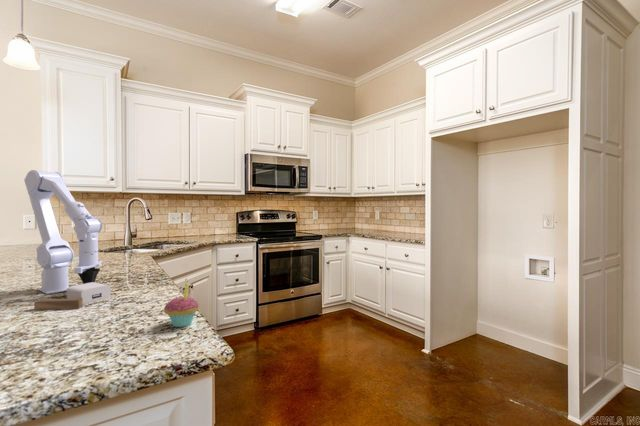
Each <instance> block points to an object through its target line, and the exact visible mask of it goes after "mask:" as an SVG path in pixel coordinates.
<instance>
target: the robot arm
mask: <svg viewBox="0 0 640 426" xmlns="http://www.w3.org/2000/svg"><path fill="white" fill-rule="evenodd" d="M24 184H25V186H26V190H27V194H28V197H29V201H30V204H31V207H32V211H33V214H34V218H35V222H36V225H37V227H38V231H39V235H40V237H41V241H42V242H41V244H39V245H38V246H37V248H36V253H37V254H36V261H37V263H38V265H39V266H40V268H43V269H42V270H41V287H40V288H38V289H37V290H38V291H40V292H41V293H44V294H47V295H48V294H54V293H60V292H64V291H65V292H66V291H67V288H69V287H70V286H69V283H70V282H69V281H70V280H69V276H70V275H69V265H71V263H72V262H73V261H74V259H75V253H74V252H75V251H74V250H73V248H72V247H71V246H70V243H69V242H68V241H66V240H64V239H63V238H62V237H61V234H60V230H59V227H58V224H57V221H56V217H55V214H54V211H53V208H52V207H53V206H52V204H51V201H50V199H51V197H53V196H55V197H56V198H57V199H58V200H59V201H60V202H61V203H62V204H63V205H64V206H65V207H64V212H65V213H66V214H67V216H68V217H69V218H70V220H71V221H72V222H73V224H74V226H73V230H74V233H76V239H77V240H78V265H77V266H76V267H74V274H76V275H78V276H79V278H80V279H81V281H82V284H85V283H91V282H95V283H96V279H97V277H98V274H99V272H100V271H101V269H100V268H97V267H101V266H102V265H103V264H102V260H99V233H100V232H101V231H102V228H103V224H102V222H101V219H99V218H98V217H95V216H93V215H91V213H90V212H89V211H88V209H86V207H85V204H84V203H82V202H81V201H76V200H75V198H74V196H73V195H72V194H71V191H70V190H69V189H68V187H67V185H66V178H64V176H63V175H62V173H60V172H58V171H57V172H56V171H55V172H52V171H44V170H43V171H42V170H36V169H31V170H29V171H28V172H27V173H26V176H25V178H24Z"/></svg>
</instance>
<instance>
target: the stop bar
mask: <svg viewBox="0 0 640 426" xmlns="http://www.w3.org/2000/svg"><path fill="white" fill-rule="evenodd" d="M33 303H34V311H47V310H70V309H71V310H72V309H80V308H82V307H83V305H84V304H83V298H73V299H67V298H52V299H51V298H50V299H49V298H48V299H39V300H35V301H34V302H33Z"/></svg>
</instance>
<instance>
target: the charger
mask: <svg viewBox="0 0 640 426" xmlns="http://www.w3.org/2000/svg"><path fill="white" fill-rule="evenodd" d="M65 292H66V299H73V298H83V305H86V304H90V303H94V302H99V301H102V300H107V299H110V298H111V297H112V286H111V285H109V284H103V283H99V282H96V281H95V282H91V283H85V284H83V283H82V284H80V283H79V284H77V285H72V286H69V288H67V290H66V291H65Z"/></svg>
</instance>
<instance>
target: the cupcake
mask: <svg viewBox="0 0 640 426" xmlns="http://www.w3.org/2000/svg"><path fill="white" fill-rule="evenodd" d="M184 287H185V288H184V293H183V294H184V295H183V297H176V298H173V299H171V300H170V301H168V302H167V303H166V304H165V306H164V308H163V312H164V313H165V314H166V315H168V316H169V318H170V322H171V324H172V326H173V327H176V328H183V327H188V326H190V325H192V323H193V320H194V317H195V314H196V312H198V310H199V306H200V304H199V303H198V301H197V300H195V298H192V297H190V296H188V289H189V280H187V282H186V283H185V286H184Z"/></svg>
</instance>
